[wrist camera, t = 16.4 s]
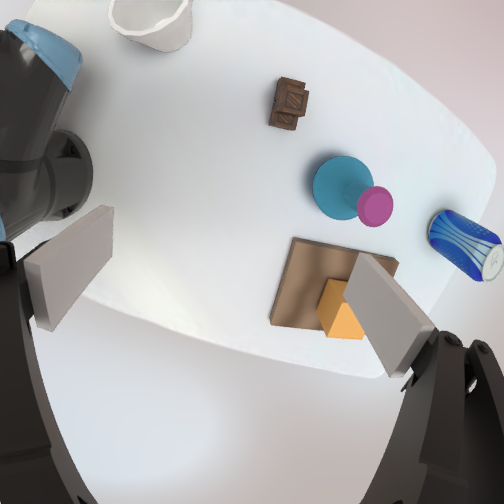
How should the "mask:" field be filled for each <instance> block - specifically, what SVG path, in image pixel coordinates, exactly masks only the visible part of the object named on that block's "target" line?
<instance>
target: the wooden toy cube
mask: <svg viewBox="0 0 504 504" xmlns="http://www.w3.org/2000/svg"><path fill="white" fill-rule="evenodd" d="M347 283H348V282H345V281H339V280H333V279H328V281H327V284H326V287H325V289H324V292H323V295H322V297H321V300H320V303H319V305H318V308H317V310H316V313H317V315H318V317H319V320H320V322H321V325H322V327H323V330H324V332H325V334H326V337H328V338H342V339H358V340H362V339H363V337H364V335H365V332H364V330H363V329H362V327H361V325H360V323H359V322H358V320H357V318H356V317H355V315H354V313H353V311H352V310H351V308H350V306H349V305H348V303H347V301H346V300H345V298H344V296H343V293H344V291H345V288H346V286H347Z"/></svg>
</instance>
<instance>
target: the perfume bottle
mask: <svg viewBox="0 0 504 504" xmlns="http://www.w3.org/2000/svg"><path fill="white" fill-rule="evenodd" d="M312 189H313V196H314V199H315V201H316V203H317V205H318V207H319V208H320V209H321V211H322V212H323V213H324V214H326V215H327V216H329V217H331V218H333V219H336V220H349V219H352V218H355V217H357V216H358V217H359V219H360V220H361V222H362V223H363V224H365V225H366V226H369V227H378V226H380V225H382V224H384V223H385V222H386V221H387V220H388V219H389V218H390V216H391V214H392V211H393V199H392V196H391V194H390V193H389V192H388V191H387V190H386V189H385V188H383V187H379V186H375V187H374V182H373V178H372V175H371V173H370V171H369V169H368V168H367V166H366V165H365V164H364V163H362V162H361V161H359V160H358V159H356V158H353V157H348V156H340V157H335V158H331V159H330V160H328V161H326V162H325V163H324V164H323V165H321V167H320V168H319V169H318V170H317V172H316V174H315V177H314V180H313V188H312Z"/></svg>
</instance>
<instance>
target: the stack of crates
mask: <svg viewBox="0 0 504 504" xmlns="http://www.w3.org/2000/svg"><path fill="white" fill-rule="evenodd" d="M305 84H306V83H304V82H300V81H297V80H293V79H289V78H285V77H281V78H280V79H279V80H278V84H277V88H276V93H275V97H274V102H275V103H273V107H272V112H271V116H270V121H269V125H270V126H274V127H279V128H283V129H287V130H291V131H292V130H296V126H297V121H298V117H302V116H305V112H306V107H307V101H308V95H309V91H307V90H304V88H305Z"/></svg>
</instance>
